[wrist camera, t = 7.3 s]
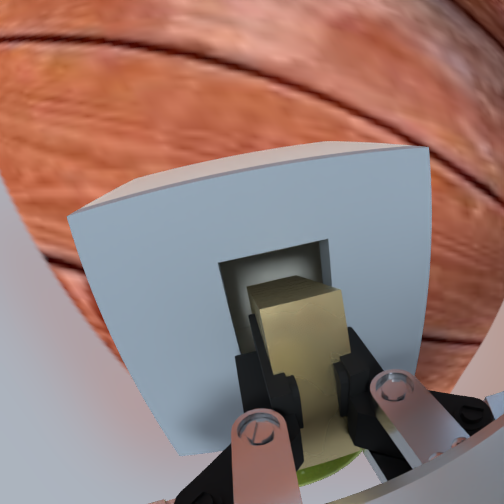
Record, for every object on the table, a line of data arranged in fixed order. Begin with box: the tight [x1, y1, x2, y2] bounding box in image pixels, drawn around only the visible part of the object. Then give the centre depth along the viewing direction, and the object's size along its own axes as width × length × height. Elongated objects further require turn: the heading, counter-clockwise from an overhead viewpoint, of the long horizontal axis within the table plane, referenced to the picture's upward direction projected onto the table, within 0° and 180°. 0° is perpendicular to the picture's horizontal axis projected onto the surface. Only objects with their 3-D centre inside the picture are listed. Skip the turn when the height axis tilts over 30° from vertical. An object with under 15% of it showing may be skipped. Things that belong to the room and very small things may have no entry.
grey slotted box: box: [67, 141, 432, 456], centre depth 15 cm, size 12×12×10 cm
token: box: [246, 275, 360, 470], centre depth 10 cm, size 5×2×5 cm, turn 10°
